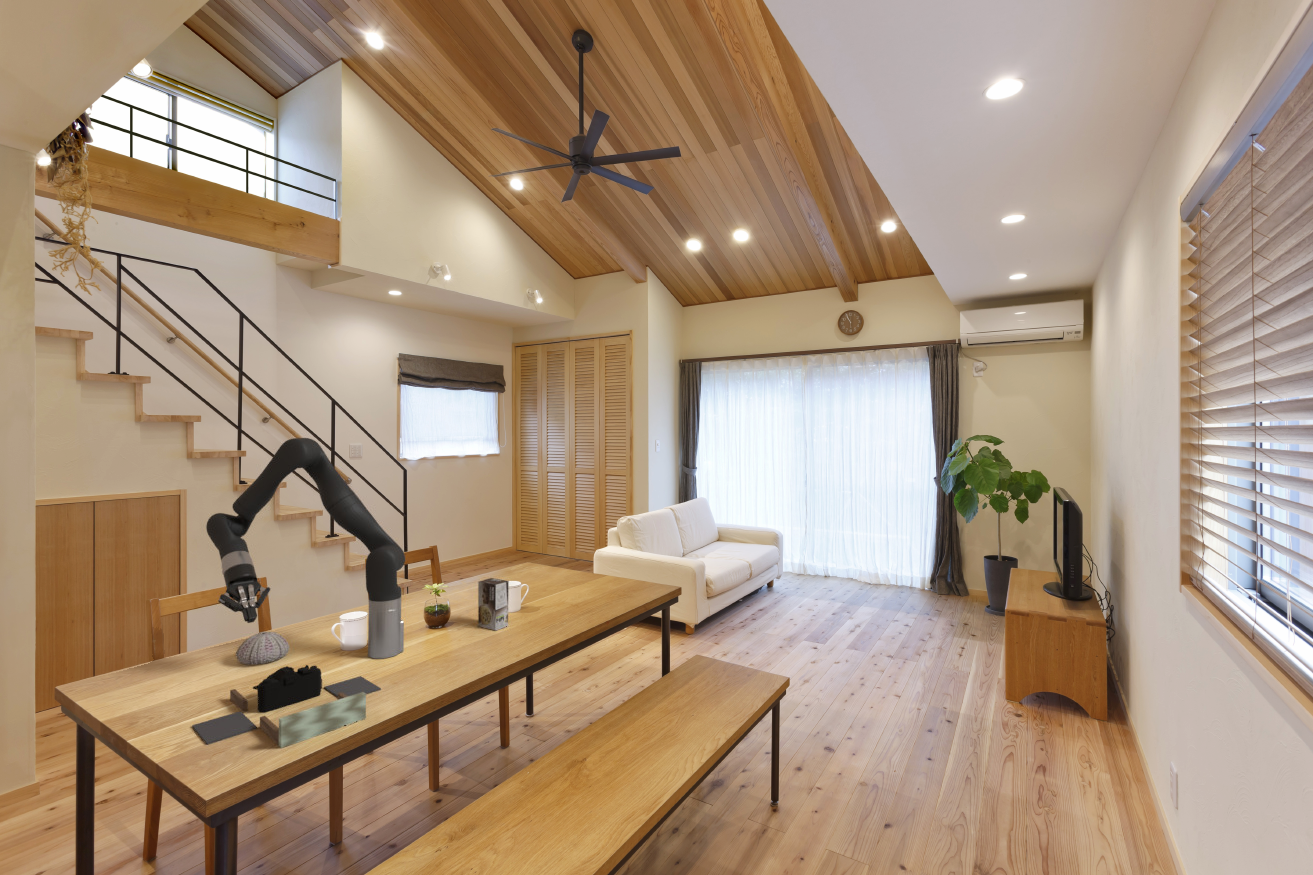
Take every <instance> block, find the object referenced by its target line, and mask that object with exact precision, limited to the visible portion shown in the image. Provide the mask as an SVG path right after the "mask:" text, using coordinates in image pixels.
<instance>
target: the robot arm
mask: <svg viewBox="0 0 1313 875" xmlns="http://www.w3.org/2000/svg"><path fill="white" fill-rule="evenodd" d="M301 468H302V469H303V470H304V471H305V472H306V473H307V474H308V475H309V477H310V478H311V479H312V481H313V482H314V483H315V484H316V486H317V489H318V494H319V497H320V500H321V503H322V506H323V507H324V509H325V510H326V512H327V513H328V514H329V516H330V517H331V518H332V520H333V521H334V522H335V523H336V524H337V525H338V526H339V527H341V528H342V529H343V530H345V531H346V532H348V533H349V534H350V535H352V536H354V537H355V538H357V539H358V540H359V541H360V542H361V543H362V544H363V545H364V546H365V547H366V548H367V550H368V551H369V554H367V556H366V560H365V588H366V592H367V594H368V629H367V630H368V632H367V636H368V637H367V657H369V658H371V659H388V658H392V657H396V656H397V655H399V654H401V653H403V652H404V650H405V649H404V648H405V647H404V640H405V636H404V635H405V634H404V633H405V632H404V631H405V629H404V628H405V622H404V620H403V619H402V588H401V586H399V584H398V571H399V570H401V569H402V568H403V567H404V565H405V564H406V555H405V553H404V550H403V548H402V547H401V546H400V545H399V544H398V543H397V542H396V541H395V540H394V539H393V538H392V537H391V536H390V535H389V534H388V533H387V531H385V530H384V529H383V527H382V526H381V525H380V524H379V522H378V521H377V520H376V519H375V517H374V516H373V515H372V513H371V512H370V511H369V510H368V509H367V507H366V506H365V505H364V503H363V502H362V500H361V499H360V498H359V497H358V495H357V494H356V493H355V492H354V490H353V489H352V488H351V487H350V486H349V485H348V483H347V482H346V481H345V480H344V478H343V477H342V476H341V475H340V473H339V472H338V471H337V469H336V468H335V467H334V465H333V464H332V462H331V461H330V459H329V457H328V456H327V454H326V453H325V451H324V450H323V448H322V446H321V445H320V444H319V442H317V441H316V440H314V439H312V438H309V437H296V438H290V439H287V440H285V441H284V442H283V443H282V444H281V445H280V446H279V448H278V449H277V451H276V452H275V453H274V455H273V456H272V458H271V460H270V461H269V462H268V464H267V465H266V466H265V467H264V469H263V470H262V471H261V473H260V474H259V476H258V477H257V478H255V480H254V481H253V482H252V483H251V484H250V485H249V486H248V487H247V488H246V489H245V491H243V492H242V493H241V494H240V495H239V497H237V499H235V501H234V502H233V504H232V510H233V512H234V513H236V515H233V514H228V513H224V512H223V513H222V512H218V513H214V514H212V515H211V516H210V517H209V518H208V520H207V522H206V526H205V528H206V534H207V535H208V537H209V539H210V540H211V542H212V543H213V545H214V547H215V548H216V549H217V550H218V552H219V558H220V561H221V569H222V572H221V573H222V575H223V579H224V583H225V588H226V589H225V593H224V594H223V593H222V594H220V596H219V598H218V603H220V604H221V605H223V606H225V607H226V608H227V609H230V610H231V611H232V612H234V613H238V612H241V613H242V616H243V617H242V618H243V619H244V620H243V621H245V622H247V624H251V623H254V622H255V621H256V619H257V617H258V613H257V609H259V608H260V607H261V606H262V604H263V603H264V602H265V600H266V599H267V596H268V595H269V593H270V591H271V587H269V586H267V587H263V586H261V583H260V581H259V580H258V576H257V574H256V570H255V566H254V563H253V562H254V561H253V558H252V556H251V555H250V552H249V547H248V544H247V542H246V540H245V539H244V538H242V537H244V536H245V535H246V534H247V533H248V531H249V529H250V527H251V525H252V523H253V521H254V520H255V518H256V516H257V514H258V513H260V512H261V510H263V508H264V507H265V506H266V505H267V504H268V503H269V502H270V501H271V499H273V497H274V495H275V493H276V492H277V489H278V487H279V485H280V484H281V483H282V482H283V480H284V479H286V478H287V477H288V476H289V475H291V473H293V472H294V471H296V470H298V469H301ZM258 594H259V595H260V597H259V598H258V599H257V600H256V601H255V598H256V596H257V595H258Z"/></svg>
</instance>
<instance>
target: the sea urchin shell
mask: <svg viewBox="0 0 1313 875" xmlns="http://www.w3.org/2000/svg"><path fill="white" fill-rule="evenodd" d="M289 651H290V644H289V642H288V641H287V638H285V637H284V636H282V635H280V633H277V632H274V631H261V632H258V633H256V634H253V635H250V636H249V637H247V638H246V639H245V640H244V641H243V642H242V643H241V644H240V646H239V647H238V649H237V650H236V653H235V657H236V659H237V660H238V662H239V663H240V664H244V665H253V666H254V665H259V664H261V665H264V664H267V663H271V662H275V661H278V660H279V659H282V658H284V657H286V656H287V654H288V653H289Z"/></svg>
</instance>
